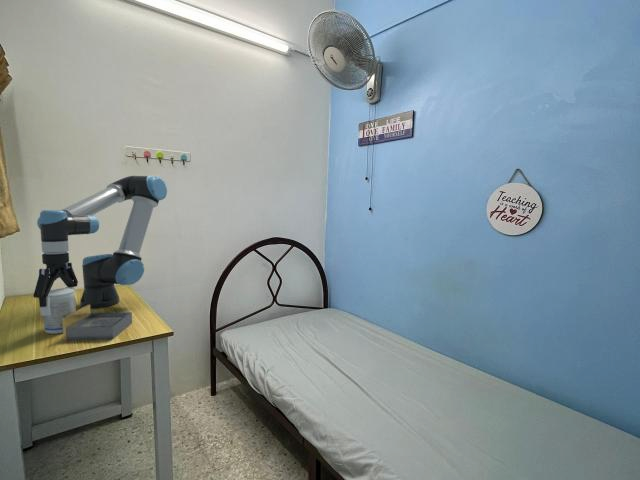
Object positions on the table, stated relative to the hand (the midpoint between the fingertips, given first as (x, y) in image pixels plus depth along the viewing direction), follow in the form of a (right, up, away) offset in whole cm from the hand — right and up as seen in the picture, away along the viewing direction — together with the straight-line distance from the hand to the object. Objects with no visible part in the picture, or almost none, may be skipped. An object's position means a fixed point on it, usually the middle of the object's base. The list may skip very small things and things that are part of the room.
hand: (58, 309), depth 118 cm
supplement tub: (0, -8, +1) cm, 8 cm away
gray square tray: (+16, -8, 0) cm, 18 cm away
